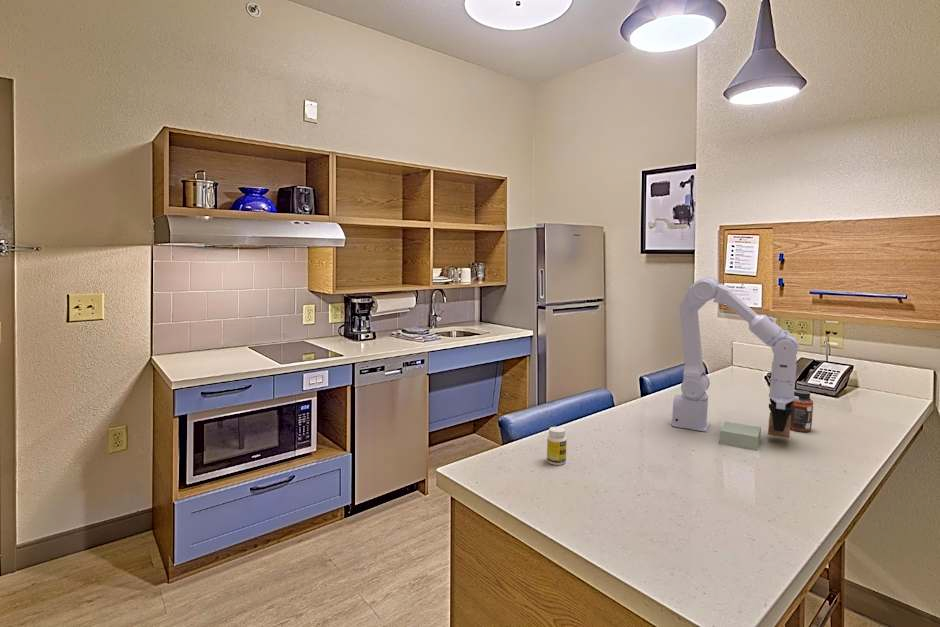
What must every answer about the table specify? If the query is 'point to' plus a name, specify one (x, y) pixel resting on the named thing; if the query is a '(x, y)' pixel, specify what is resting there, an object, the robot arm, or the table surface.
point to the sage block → (740, 435)
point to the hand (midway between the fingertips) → (779, 427)
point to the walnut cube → (778, 433)
